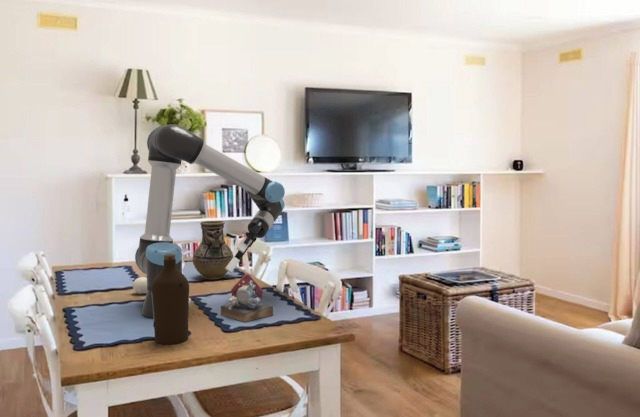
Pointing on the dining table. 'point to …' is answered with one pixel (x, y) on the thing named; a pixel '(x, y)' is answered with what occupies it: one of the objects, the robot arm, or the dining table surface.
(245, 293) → the brake caliper
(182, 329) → the olive oil
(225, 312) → the stand
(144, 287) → the baseball
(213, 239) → the decorative pitcher
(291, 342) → the dining table surface
